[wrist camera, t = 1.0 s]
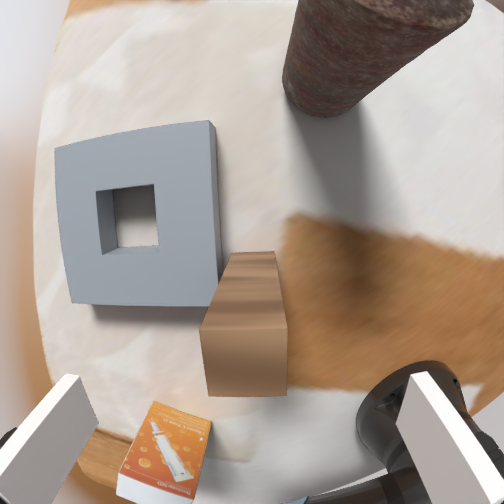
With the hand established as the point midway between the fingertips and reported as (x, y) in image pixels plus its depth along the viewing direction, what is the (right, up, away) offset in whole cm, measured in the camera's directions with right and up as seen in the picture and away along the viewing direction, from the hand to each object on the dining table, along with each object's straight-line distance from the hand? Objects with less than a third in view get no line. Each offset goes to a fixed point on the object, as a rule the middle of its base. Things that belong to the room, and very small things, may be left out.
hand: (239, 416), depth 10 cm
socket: (-11, +10, +18) cm, 23 cm away
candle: (+7, +22, +15) cm, 28 cm away
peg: (+1, +4, +19) cm, 20 cm away
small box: (-9, -17, +24) cm, 31 cm away
